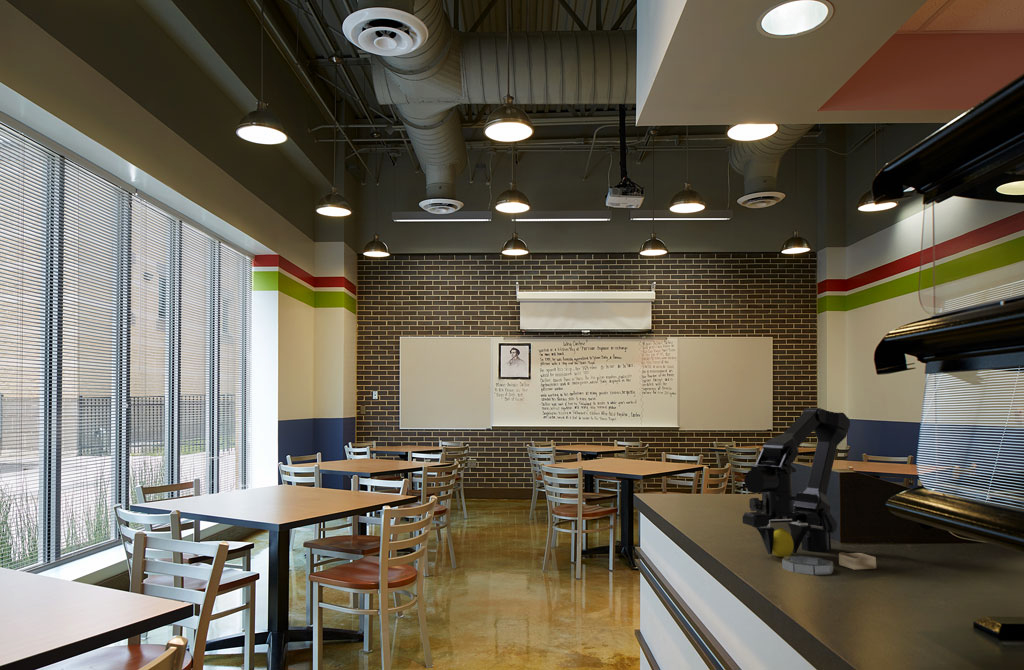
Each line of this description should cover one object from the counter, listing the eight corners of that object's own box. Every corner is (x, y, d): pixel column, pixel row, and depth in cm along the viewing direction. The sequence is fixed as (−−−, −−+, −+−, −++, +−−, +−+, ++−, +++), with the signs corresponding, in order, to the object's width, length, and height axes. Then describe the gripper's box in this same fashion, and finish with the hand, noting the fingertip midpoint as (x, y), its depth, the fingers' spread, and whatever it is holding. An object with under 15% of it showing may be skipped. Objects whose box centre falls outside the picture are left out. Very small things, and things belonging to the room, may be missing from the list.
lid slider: (860, 563, 163) (860, 551, 163) (876, 568, 158) (875, 556, 158) (839, 564, 161) (838, 552, 162) (854, 569, 156) (853, 557, 157)
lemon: (797, 560, 171) (796, 527, 172) (789, 563, 167) (787, 530, 168) (775, 556, 175) (774, 525, 175) (767, 560, 171) (766, 527, 171)
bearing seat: (812, 563, 163) (812, 554, 163) (842, 573, 153) (842, 564, 153) (774, 565, 160) (774, 556, 161) (802, 576, 150) (802, 566, 151)
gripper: (792, 486, 182) (794, 545, 181) (730, 487, 178) (731, 548, 177) (819, 491, 172) (822, 554, 170) (754, 493, 167) (756, 557, 166)
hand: (782, 553), depth 171 cm, fingers open, 7 cm apart
